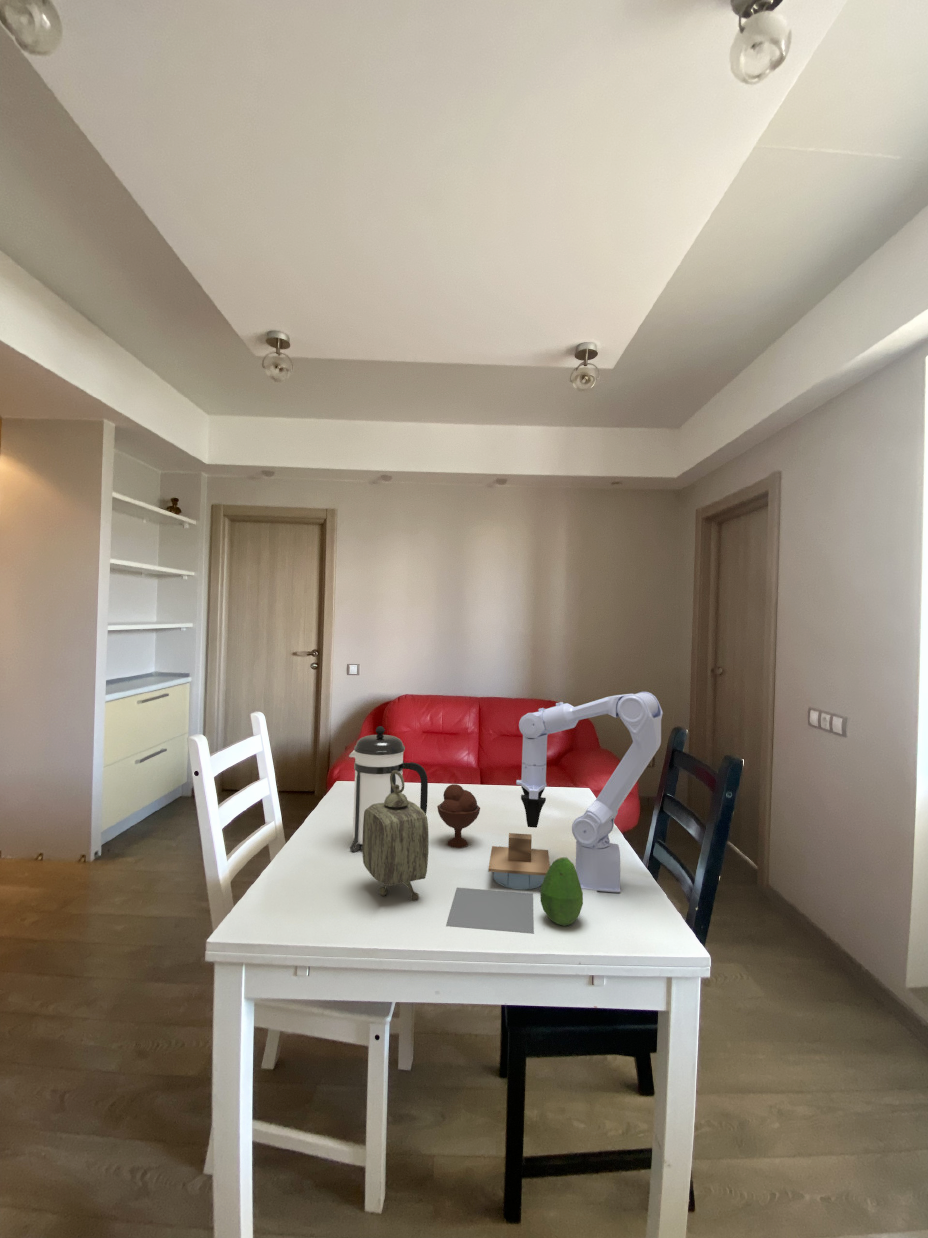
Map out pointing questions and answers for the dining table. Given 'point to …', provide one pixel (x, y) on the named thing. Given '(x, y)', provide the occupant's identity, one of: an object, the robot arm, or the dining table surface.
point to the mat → (492, 910)
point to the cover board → (519, 866)
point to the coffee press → (379, 776)
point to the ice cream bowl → (458, 812)
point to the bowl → (518, 880)
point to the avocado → (561, 892)
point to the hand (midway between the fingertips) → (532, 821)
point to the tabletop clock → (396, 840)
